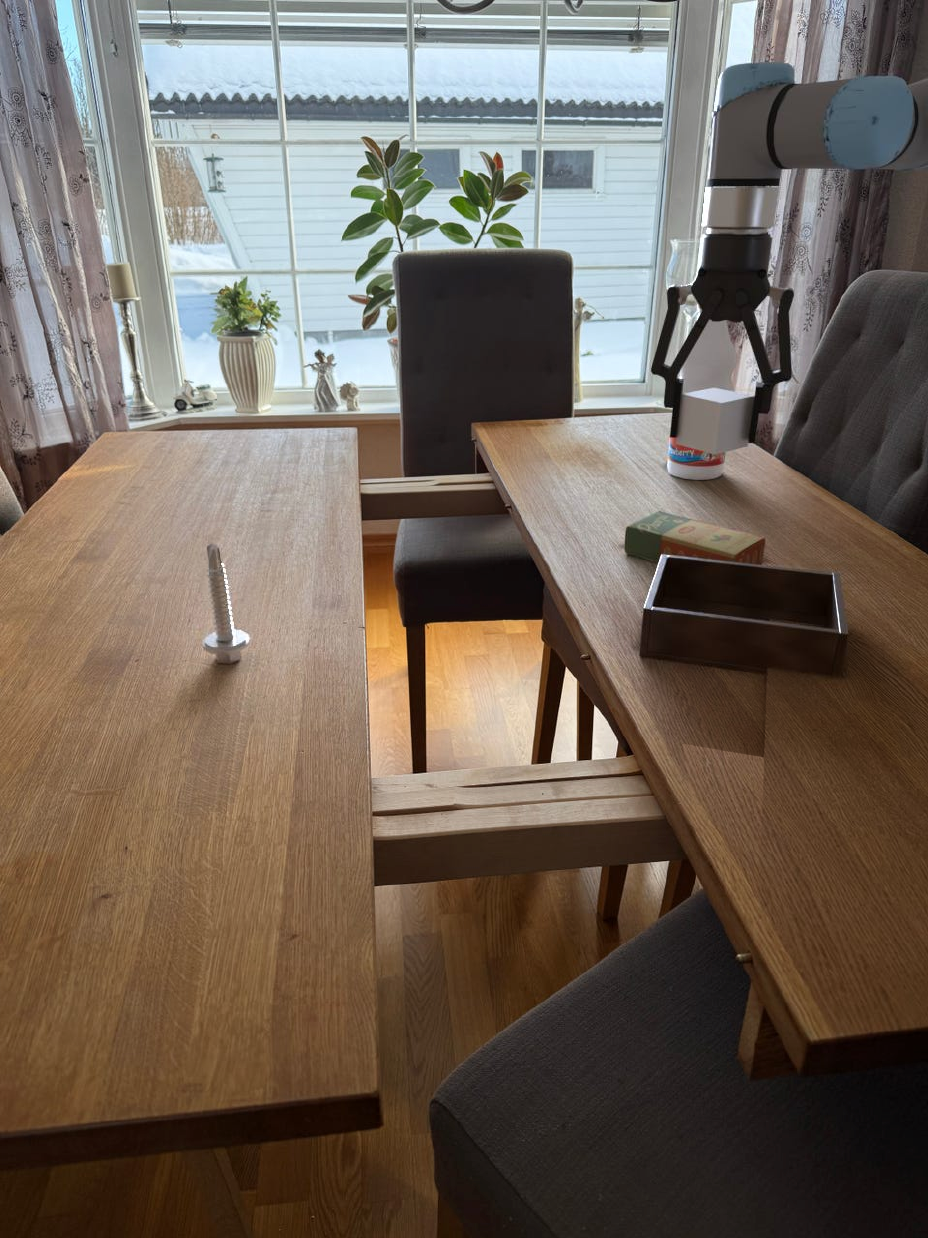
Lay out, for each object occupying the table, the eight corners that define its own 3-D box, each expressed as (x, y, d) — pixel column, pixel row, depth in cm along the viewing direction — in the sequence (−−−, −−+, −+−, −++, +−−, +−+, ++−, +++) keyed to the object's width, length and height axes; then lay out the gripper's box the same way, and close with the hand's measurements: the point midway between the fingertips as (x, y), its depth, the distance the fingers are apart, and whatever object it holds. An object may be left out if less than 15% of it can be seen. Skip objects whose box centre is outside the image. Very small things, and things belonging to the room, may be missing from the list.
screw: (242, 670, 91) (197, 668, 91) (258, 648, 95) (215, 646, 96) (226, 553, 85) (178, 550, 86) (244, 535, 89) (198, 533, 90)
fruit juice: (733, 473, 151) (756, 300, 139) (702, 484, 146) (723, 305, 133) (687, 462, 158) (705, 295, 145) (655, 472, 152) (671, 300, 140)
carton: (730, 586, 109) (735, 554, 107) (622, 553, 119) (624, 523, 117) (762, 566, 114) (767, 535, 112) (655, 536, 124) (658, 507, 122)
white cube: (714, 454, 103) (721, 402, 100) (675, 444, 107) (680, 393, 104) (748, 446, 106) (755, 395, 103) (708, 436, 110) (714, 387, 108)
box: (831, 618, 101) (840, 573, 98) (838, 684, 87) (848, 634, 85) (657, 597, 106) (661, 553, 104) (639, 656, 93) (643, 608, 90)
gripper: (839, 230, 96) (805, 436, 106) (643, 229, 102) (628, 424, 112) (843, 233, 90) (806, 452, 100) (634, 232, 96) (619, 438, 106)
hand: (712, 437), depth 106 cm, fingers closed on white cube, 8 cm apart
